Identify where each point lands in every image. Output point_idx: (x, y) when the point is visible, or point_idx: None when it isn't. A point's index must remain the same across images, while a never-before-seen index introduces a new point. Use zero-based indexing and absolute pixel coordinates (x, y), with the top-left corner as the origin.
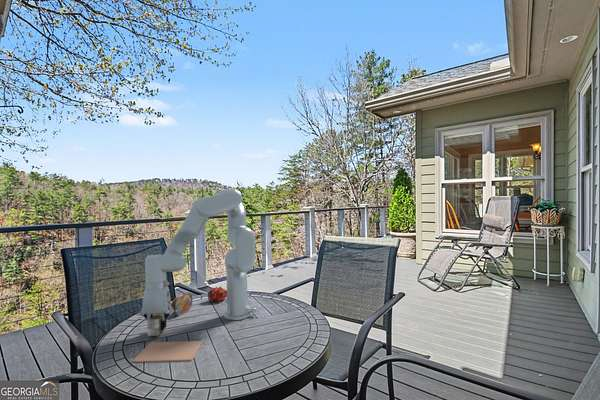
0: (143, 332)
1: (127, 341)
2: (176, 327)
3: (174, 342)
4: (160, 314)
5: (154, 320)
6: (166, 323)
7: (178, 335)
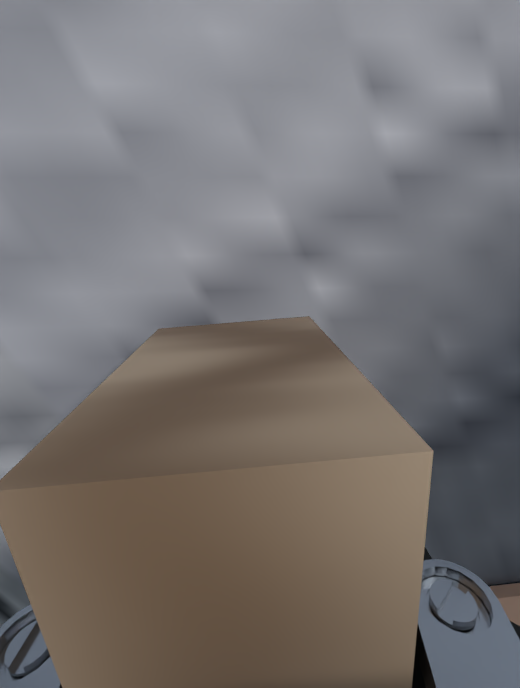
0: (33, 397)
1: (22, 593)
2: (409, 228)
3: (505, 610)
4: (292, 654)
5: None
6: (317, 328)
7: (493, 451)
